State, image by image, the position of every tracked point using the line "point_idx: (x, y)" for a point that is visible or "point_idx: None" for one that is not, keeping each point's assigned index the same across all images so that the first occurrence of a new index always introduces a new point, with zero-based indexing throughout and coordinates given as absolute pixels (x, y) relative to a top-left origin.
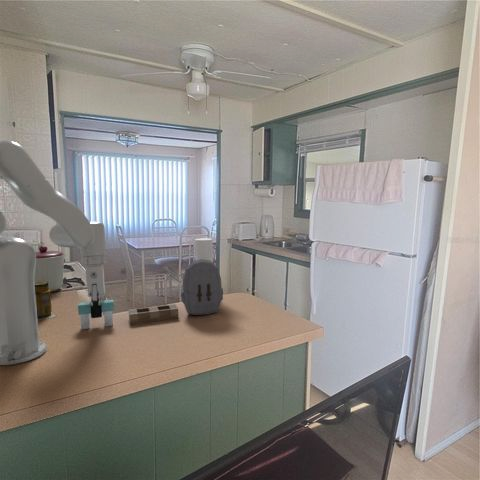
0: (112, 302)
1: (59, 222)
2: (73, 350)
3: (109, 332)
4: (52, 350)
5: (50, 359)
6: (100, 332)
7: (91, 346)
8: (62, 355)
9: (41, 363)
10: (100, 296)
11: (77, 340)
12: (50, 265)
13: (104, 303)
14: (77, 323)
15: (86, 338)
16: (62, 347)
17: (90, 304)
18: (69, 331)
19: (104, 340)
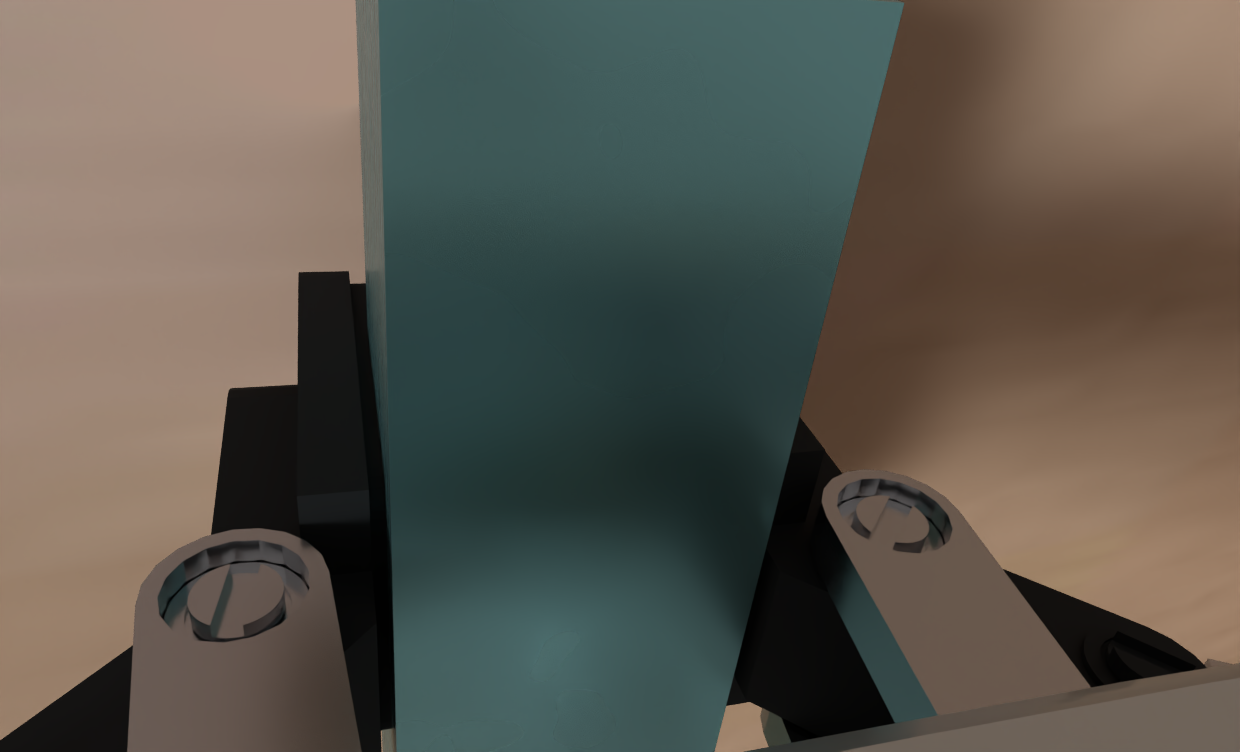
0: (874, 43)
1: None
2: (1178, 453)
3: (922, 28)
4: None
5: (1205, 588)
6: None
7: (1234, 286)
8: (1207, 522)
9: (1221, 625)
10: (316, 724)
11: (926, 464)
12: None
13: (795, 374)
14: (109, 599)
15: (935, 371)
16: (1018, 565)
17: (714, 745)
18: None
19: (1189, 125)
